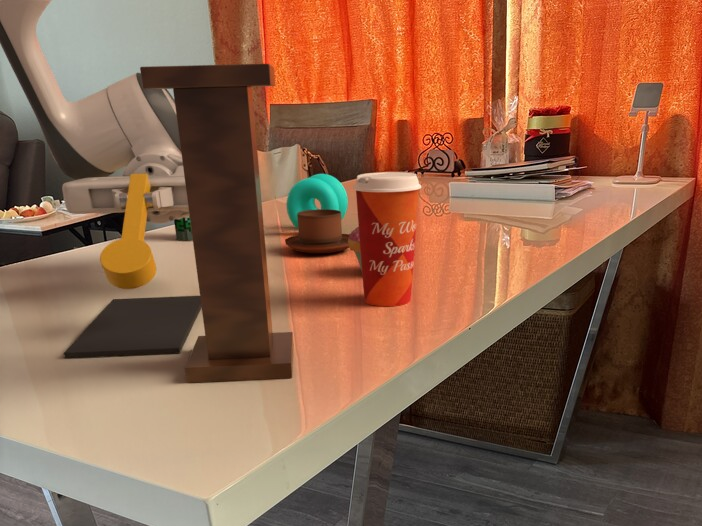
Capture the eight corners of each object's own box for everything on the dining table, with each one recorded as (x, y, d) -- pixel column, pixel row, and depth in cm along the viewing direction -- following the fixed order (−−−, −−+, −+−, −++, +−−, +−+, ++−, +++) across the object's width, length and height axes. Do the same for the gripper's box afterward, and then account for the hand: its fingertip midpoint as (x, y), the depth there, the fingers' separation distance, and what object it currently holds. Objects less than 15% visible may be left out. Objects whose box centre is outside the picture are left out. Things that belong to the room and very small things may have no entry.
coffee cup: (378, 312, 87) (377, 180, 80) (344, 298, 94) (340, 174, 86) (433, 301, 91) (436, 174, 84) (396, 289, 97) (396, 169, 90)
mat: (64, 358, 75) (63, 352, 75) (113, 303, 94) (112, 299, 94) (179, 353, 75) (179, 347, 75) (205, 299, 95) (204, 295, 94)
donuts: (350, 227, 142) (348, 173, 137) (337, 236, 133) (335, 179, 128) (302, 226, 144) (299, 173, 139) (286, 235, 135) (282, 178, 130)
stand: (186, 383, 68) (139, 66, 55) (200, 349, 76) (162, 69, 64) (292, 378, 68) (269, 63, 56) (293, 345, 77) (274, 67, 64)
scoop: (119, 187, 88) (114, 169, 86) (165, 185, 88) (160, 168, 86) (103, 290, 79) (96, 274, 77) (154, 288, 79) (149, 271, 77)
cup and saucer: (279, 247, 125) (276, 210, 122) (344, 241, 128) (343, 205, 125) (295, 260, 115) (292, 220, 112) (365, 254, 118) (364, 215, 115)
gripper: (74, 165, 95) (40, 176, 83) (229, 159, 96) (218, 170, 84) (84, 215, 98) (53, 233, 86) (234, 209, 99) (224, 226, 87)
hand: (136, 202), depth 85 cm, fingers closed on scoop, 2 cm apart
